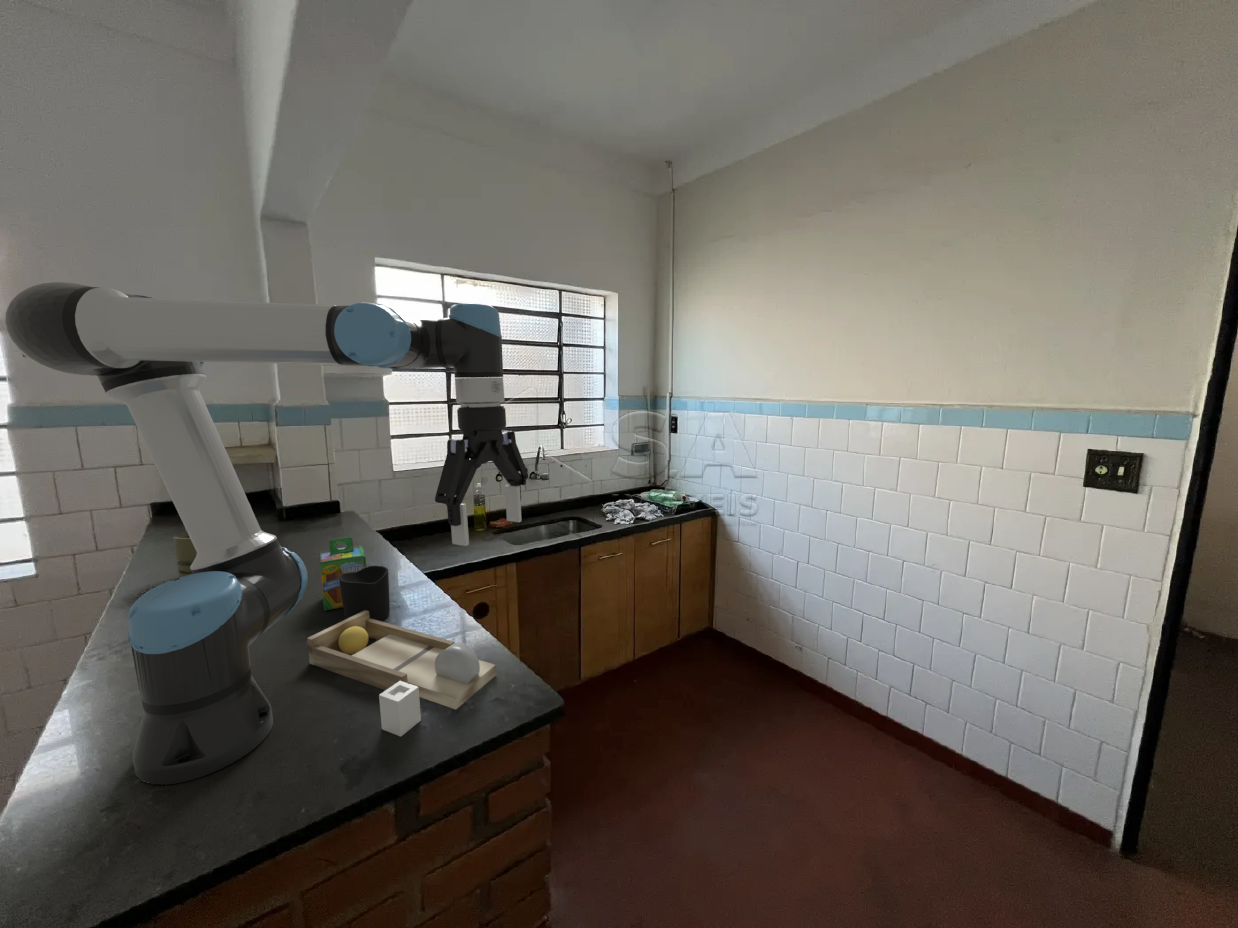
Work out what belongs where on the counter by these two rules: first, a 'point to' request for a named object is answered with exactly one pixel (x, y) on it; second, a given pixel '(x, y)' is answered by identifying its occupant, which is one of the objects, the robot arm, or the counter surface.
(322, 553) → the chalk box
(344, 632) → the ball
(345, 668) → the lane
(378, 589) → the pen holder
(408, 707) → the tee
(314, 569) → the counter surface
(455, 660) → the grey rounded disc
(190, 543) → the piston
